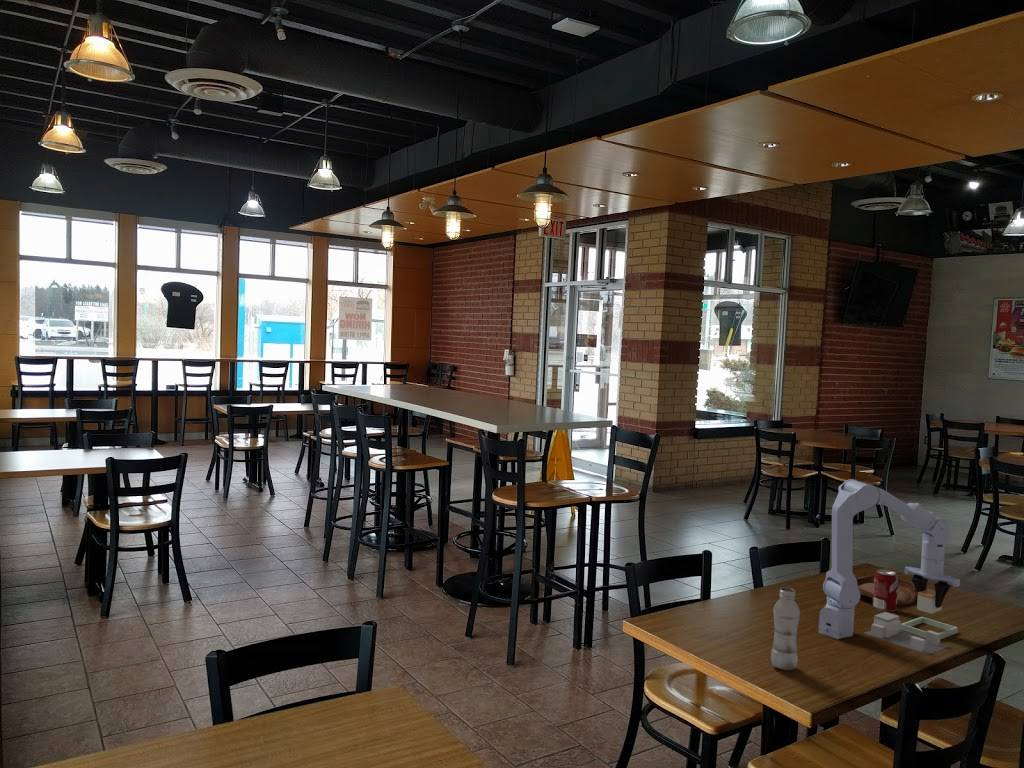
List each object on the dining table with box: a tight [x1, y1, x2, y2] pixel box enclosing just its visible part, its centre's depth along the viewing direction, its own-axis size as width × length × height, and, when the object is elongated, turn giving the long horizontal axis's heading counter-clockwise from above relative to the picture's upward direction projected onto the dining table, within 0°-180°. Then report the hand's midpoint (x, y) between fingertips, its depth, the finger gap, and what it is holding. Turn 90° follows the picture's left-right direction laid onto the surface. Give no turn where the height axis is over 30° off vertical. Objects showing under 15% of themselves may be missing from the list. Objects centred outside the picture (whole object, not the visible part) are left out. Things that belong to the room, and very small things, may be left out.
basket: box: [855, 573, 918, 606], centre depth 251 cm, size 22×20×5 cm
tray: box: [900, 616, 959, 640], centre depth 218 cm, size 12×10×2 cm
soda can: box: [872, 569, 899, 613], centre depth 238 cm, size 7×7×12 cm
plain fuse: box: [873, 611, 900, 637], centre depth 215 cm, size 6×4×5 cm, turn 125°
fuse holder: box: [863, 620, 949, 656], centre depth 210 cm, size 11×18×4 cm, turn 35°
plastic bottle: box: [770, 587, 801, 671], centre depth 190 cm, size 6×7×20 cm
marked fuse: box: [916, 588, 943, 615], centre depth 217 cm, size 6×4×5 cm, turn 125°
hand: (930, 604), depth 218 cm, fingers closed on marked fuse, 4 cm apart
